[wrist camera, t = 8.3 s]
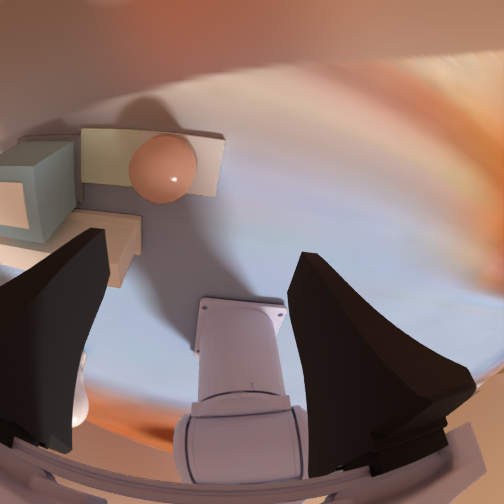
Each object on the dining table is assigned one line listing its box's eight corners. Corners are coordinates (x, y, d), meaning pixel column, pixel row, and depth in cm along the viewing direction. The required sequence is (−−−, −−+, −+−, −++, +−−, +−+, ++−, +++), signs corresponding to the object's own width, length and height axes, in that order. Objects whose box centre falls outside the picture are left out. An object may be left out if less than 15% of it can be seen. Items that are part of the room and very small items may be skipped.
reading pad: (84, 199, 18) (80, 202, 17) (27, 194, 17) (23, 197, 16) (82, 134, 15) (78, 136, 15) (22, 136, 14) (17, 138, 14)
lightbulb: (49, 331, 27) (22, 406, 18) (89, 335, 27) (64, 419, 18) (71, 360, 30) (52, 428, 21) (108, 365, 31) (93, 440, 22)
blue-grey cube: (76, 206, 18) (43, 244, 13) (27, 200, 17) (-8, 235, 12) (73, 141, 15) (32, 167, 11) (22, 141, 14) (-21, 167, 10)
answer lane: (215, 195, 19) (215, 197, 19) (83, 181, 17) (81, 182, 17) (225, 139, 17) (225, 140, 16) (82, 127, 15) (81, 128, 15)
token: (183, 200, 18) (178, 212, 17) (130, 178, 17) (120, 189, 16) (207, 148, 17) (205, 156, 15) (151, 124, 15) (142, 129, 14)
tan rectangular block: (141, 251, 21) (125, 295, 17) (28, 235, 19) (1, 269, 15) (141, 216, 19) (121, 256, 15) (22, 203, 17) (-11, 235, 13)
